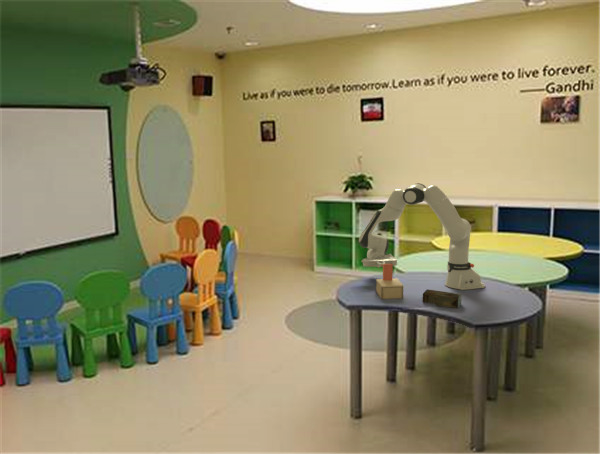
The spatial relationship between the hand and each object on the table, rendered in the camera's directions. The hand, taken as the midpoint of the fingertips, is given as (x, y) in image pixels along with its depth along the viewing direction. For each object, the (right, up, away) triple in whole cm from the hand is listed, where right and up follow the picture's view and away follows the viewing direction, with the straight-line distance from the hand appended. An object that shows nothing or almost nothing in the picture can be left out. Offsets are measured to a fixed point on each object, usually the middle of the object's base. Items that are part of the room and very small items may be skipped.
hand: (382, 265), depth 327 cm
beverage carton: (+27, -19, -31) cm, 45 cm away
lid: (+1, -9, -17) cm, 19 cm away
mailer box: (+2, -16, -16) cm, 23 cm away
